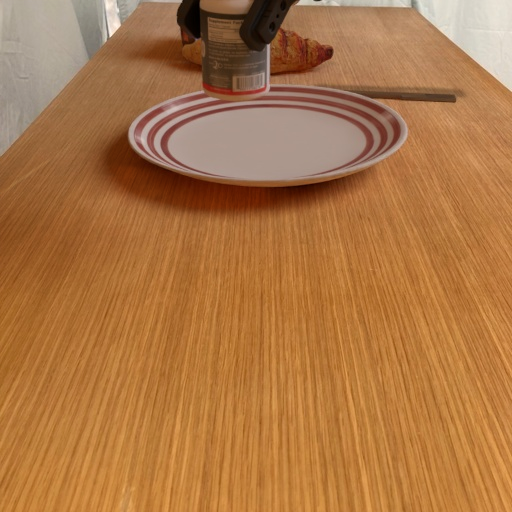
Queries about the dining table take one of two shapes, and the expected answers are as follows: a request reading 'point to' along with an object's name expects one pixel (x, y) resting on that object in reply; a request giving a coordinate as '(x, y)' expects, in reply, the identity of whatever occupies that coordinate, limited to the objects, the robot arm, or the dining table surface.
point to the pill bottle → (230, 53)
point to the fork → (406, 96)
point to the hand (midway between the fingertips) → (217, 36)
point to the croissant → (280, 52)
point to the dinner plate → (269, 136)
